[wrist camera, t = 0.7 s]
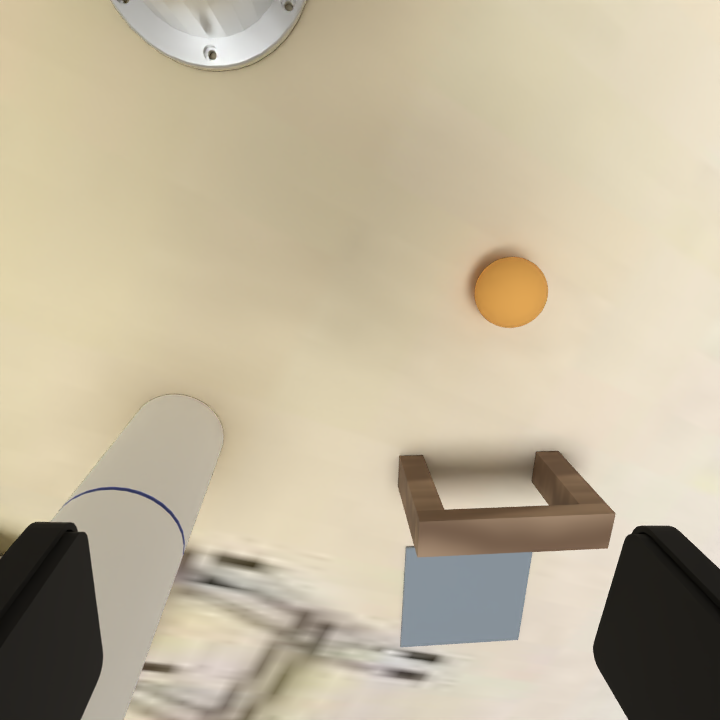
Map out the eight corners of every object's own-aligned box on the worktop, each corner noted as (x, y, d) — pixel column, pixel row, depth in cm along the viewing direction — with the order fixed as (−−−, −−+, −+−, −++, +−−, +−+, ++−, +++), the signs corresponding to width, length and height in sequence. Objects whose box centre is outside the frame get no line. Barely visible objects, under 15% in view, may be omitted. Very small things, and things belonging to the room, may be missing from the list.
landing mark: (405, 546, 45) (406, 548, 45) (532, 541, 46) (533, 542, 46) (400, 645, 49) (400, 647, 49) (517, 638, 50) (518, 639, 50)
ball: (469, 252, 36) (491, 262, 32) (534, 252, 37) (566, 262, 32) (463, 318, 38) (484, 336, 33) (525, 317, 38) (555, 336, 34)
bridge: (399, 455, 42) (419, 521, 33) (558, 451, 43) (615, 513, 35) (397, 486, 43) (417, 557, 34) (553, 480, 44) (607, 548, 36)
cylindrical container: (241, 425, 39) (130, 778, 16) (193, 488, 41) (27, 893, 17) (161, 377, 38) (-97, 695, 14) (114, 444, 39) (-190, 833, 16)
